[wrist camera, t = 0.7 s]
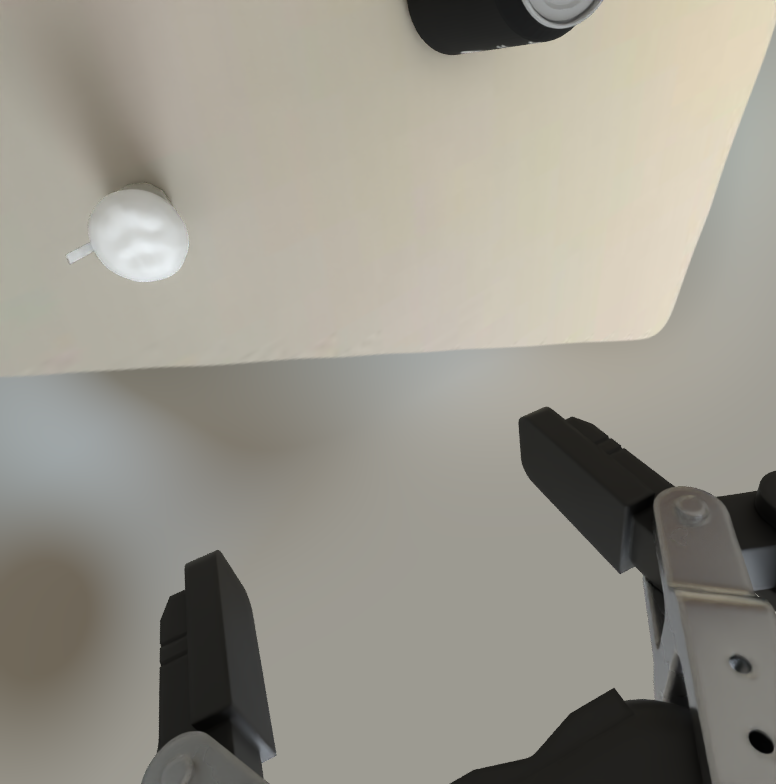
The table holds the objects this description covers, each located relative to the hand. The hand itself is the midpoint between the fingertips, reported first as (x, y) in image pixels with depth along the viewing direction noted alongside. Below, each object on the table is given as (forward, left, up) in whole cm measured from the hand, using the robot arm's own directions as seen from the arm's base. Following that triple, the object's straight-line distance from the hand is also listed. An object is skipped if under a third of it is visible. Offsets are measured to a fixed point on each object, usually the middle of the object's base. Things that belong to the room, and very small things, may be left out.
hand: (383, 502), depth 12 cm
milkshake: (-5, -5, -28) cm, 29 cm away
